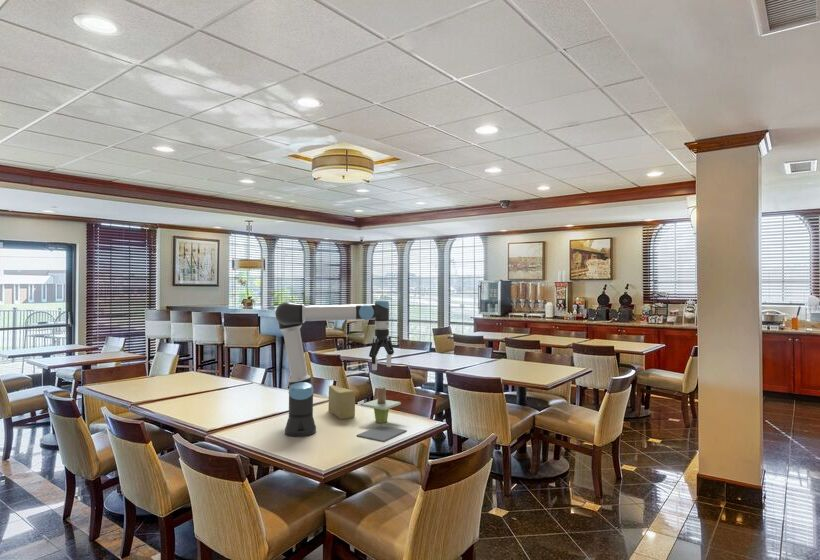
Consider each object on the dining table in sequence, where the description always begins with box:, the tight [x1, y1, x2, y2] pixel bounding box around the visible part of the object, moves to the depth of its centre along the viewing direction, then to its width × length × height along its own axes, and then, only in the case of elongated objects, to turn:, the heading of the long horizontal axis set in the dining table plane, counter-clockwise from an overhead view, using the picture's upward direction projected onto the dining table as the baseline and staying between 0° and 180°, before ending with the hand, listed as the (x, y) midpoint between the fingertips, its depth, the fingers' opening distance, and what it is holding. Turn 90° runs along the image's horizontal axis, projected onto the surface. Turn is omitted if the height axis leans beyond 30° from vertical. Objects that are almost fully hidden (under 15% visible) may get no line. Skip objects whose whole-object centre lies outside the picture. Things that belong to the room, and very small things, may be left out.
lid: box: [361, 386, 402, 410], centre depth 254 cm, size 15×15×9 cm
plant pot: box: [373, 408, 390, 424], centre depth 254 cm, size 9×9×9 cm
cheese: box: [328, 384, 356, 420], centre depth 269 cm, size 22×10×15 cm, turn 36°
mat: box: [356, 424, 408, 443], centre depth 232 cm, size 20×16×1 cm
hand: (381, 368), depth 255 cm, fingers open, 13 cm apart
